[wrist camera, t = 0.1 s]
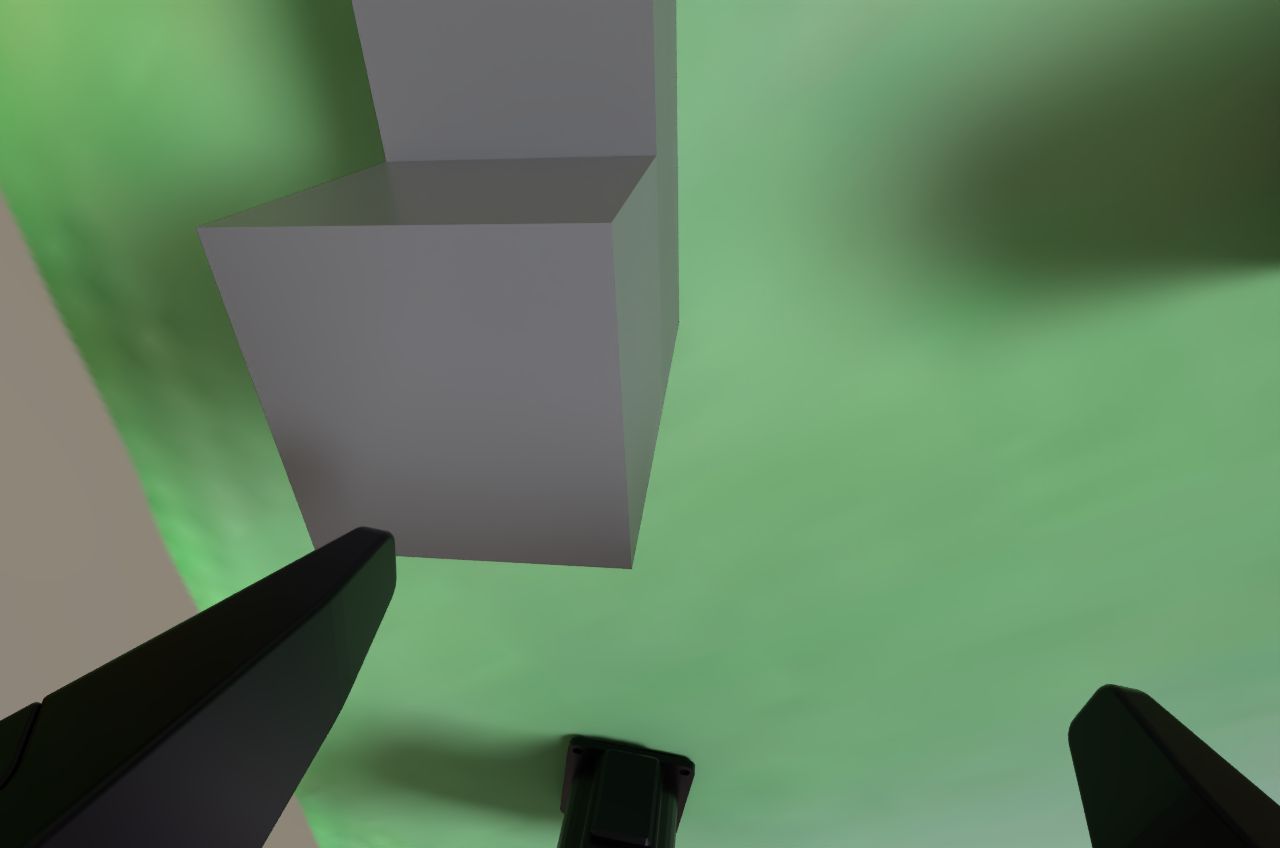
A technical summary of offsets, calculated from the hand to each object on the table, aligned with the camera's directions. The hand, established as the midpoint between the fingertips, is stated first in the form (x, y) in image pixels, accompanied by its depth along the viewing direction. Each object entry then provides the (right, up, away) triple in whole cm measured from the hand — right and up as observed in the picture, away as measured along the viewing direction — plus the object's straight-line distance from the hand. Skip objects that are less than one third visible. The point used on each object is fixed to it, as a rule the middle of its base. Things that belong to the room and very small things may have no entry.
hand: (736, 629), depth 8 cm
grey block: (-3, +12, +10) cm, 16 cm away
